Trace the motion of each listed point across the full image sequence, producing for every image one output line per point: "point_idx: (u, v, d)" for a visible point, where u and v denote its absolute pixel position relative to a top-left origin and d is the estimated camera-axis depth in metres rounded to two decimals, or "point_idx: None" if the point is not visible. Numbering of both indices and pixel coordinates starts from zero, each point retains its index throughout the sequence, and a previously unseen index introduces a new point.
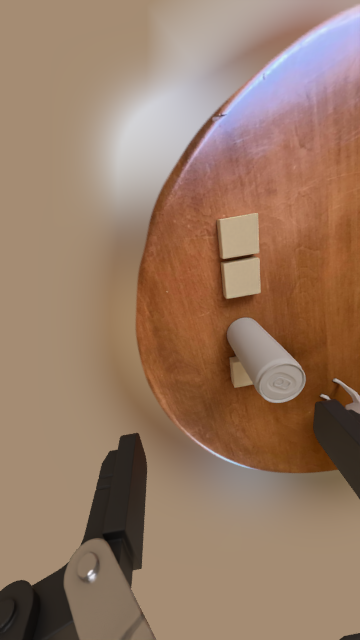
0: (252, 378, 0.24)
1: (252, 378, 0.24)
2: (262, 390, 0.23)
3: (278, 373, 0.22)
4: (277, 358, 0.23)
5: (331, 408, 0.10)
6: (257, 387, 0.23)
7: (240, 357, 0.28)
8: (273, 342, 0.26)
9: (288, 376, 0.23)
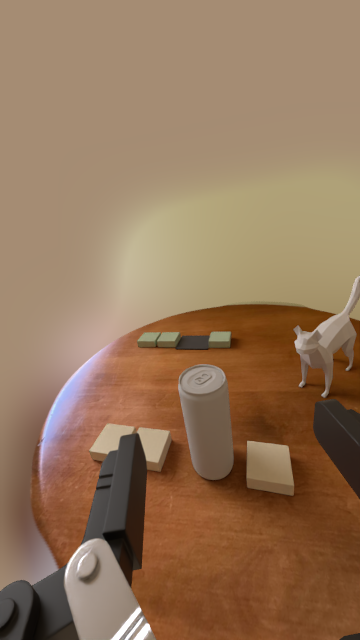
0: (197, 407, 0.22)
1: (195, 406, 0.22)
2: (203, 392, 0.21)
3: (189, 380, 0.23)
4: None
5: (331, 408, 0.10)
6: (201, 398, 0.21)
7: (201, 437, 0.23)
8: None
9: (196, 374, 0.24)
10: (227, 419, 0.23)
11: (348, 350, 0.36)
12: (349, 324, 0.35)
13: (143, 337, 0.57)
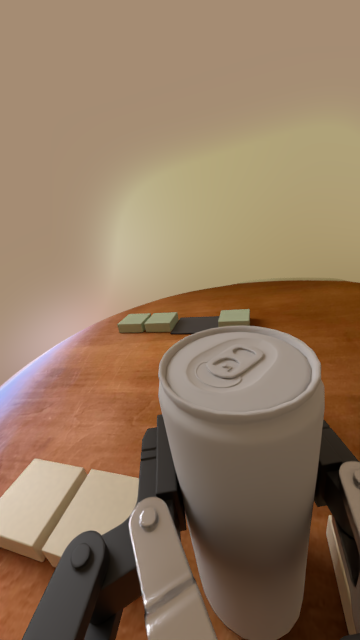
0: (225, 466, 0.06)
1: (218, 461, 0.06)
2: (249, 410, 0.05)
3: (195, 366, 0.07)
4: None
5: None
6: (243, 434, 0.05)
7: (231, 553, 0.07)
8: None
9: (213, 350, 0.08)
10: (314, 492, 0.07)
11: None
12: None
13: (126, 319, 0.41)
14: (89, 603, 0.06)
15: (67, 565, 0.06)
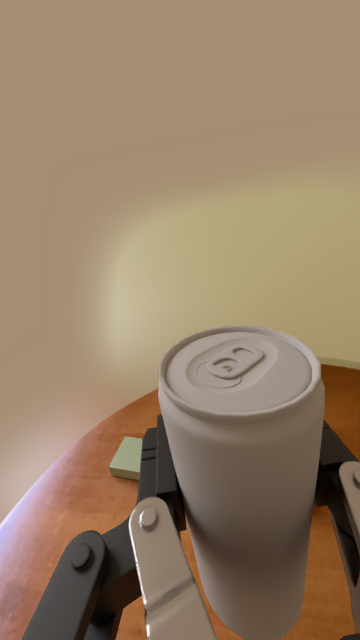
0: (225, 466, 0.06)
1: (218, 462, 0.06)
2: (249, 411, 0.05)
3: (194, 366, 0.07)
4: None
5: None
6: (243, 435, 0.05)
7: (231, 554, 0.07)
8: None
9: (212, 350, 0.08)
10: (314, 492, 0.07)
11: None
12: None
13: (121, 454, 0.30)
14: (89, 603, 0.06)
15: (67, 565, 0.06)
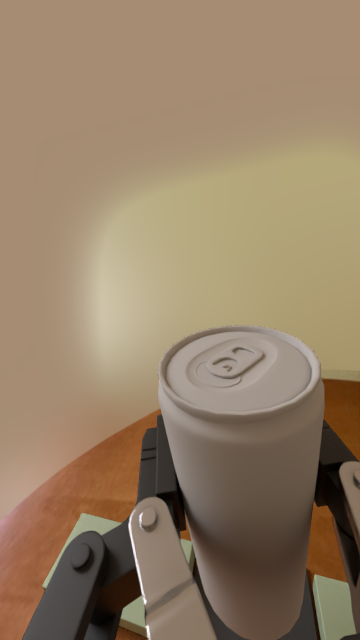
0: (225, 466, 0.06)
1: (218, 461, 0.06)
2: (249, 410, 0.05)
3: (194, 366, 0.07)
4: None
5: None
6: (243, 434, 0.05)
7: (231, 553, 0.07)
8: None
9: (212, 349, 0.08)
10: (314, 492, 0.07)
11: None
12: None
13: None
14: (89, 603, 0.06)
15: (67, 565, 0.06)
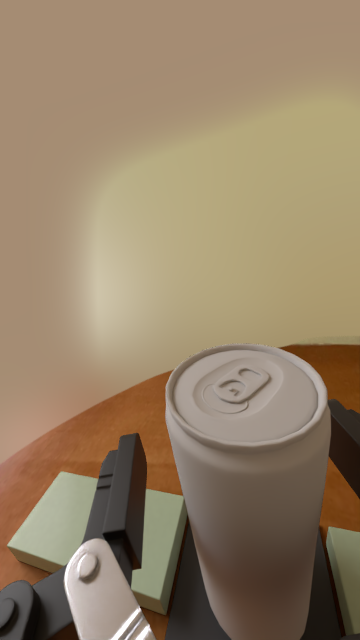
0: (234, 493, 0.06)
1: (227, 489, 0.06)
2: (257, 439, 0.05)
3: (201, 388, 0.07)
4: None
5: (331, 408, 0.10)
6: (251, 464, 0.05)
7: (237, 574, 0.07)
8: None
9: (218, 370, 0.08)
10: (320, 512, 0.07)
11: None
12: None
13: (42, 513, 0.15)
14: None
15: None
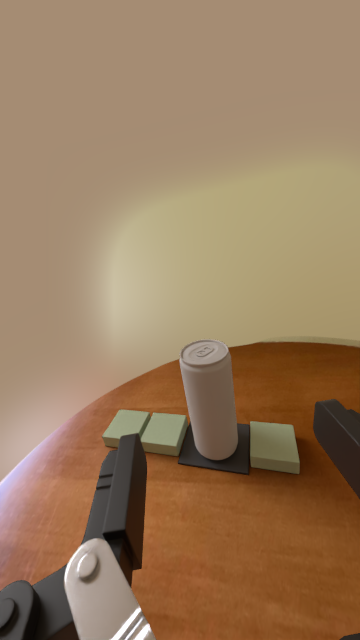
0: (199, 379, 0.21)
1: (197, 378, 0.21)
2: (205, 364, 0.20)
3: (191, 353, 0.22)
4: None
5: (331, 408, 0.10)
6: (203, 370, 0.20)
7: (203, 413, 0.22)
8: None
9: (197, 348, 0.23)
10: (230, 394, 0.22)
11: None
12: None
13: (115, 425, 0.30)
14: None
15: None
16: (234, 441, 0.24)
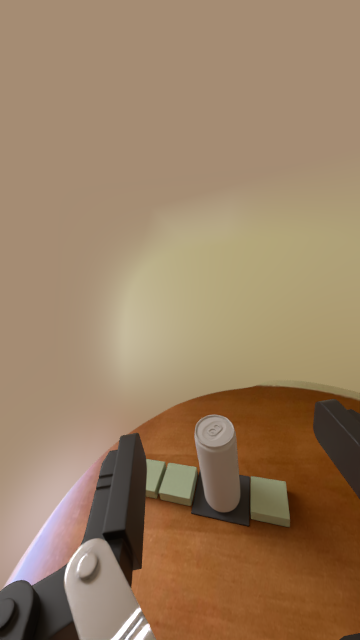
0: (211, 456, 0.26)
1: (210, 455, 0.26)
2: (216, 445, 0.26)
3: (204, 431, 0.28)
4: None
5: (331, 408, 0.10)
6: (214, 450, 0.26)
7: (213, 479, 0.28)
8: None
9: (209, 425, 0.28)
10: (235, 463, 0.28)
11: None
12: None
13: None
14: None
15: None
16: (237, 497, 0.30)
